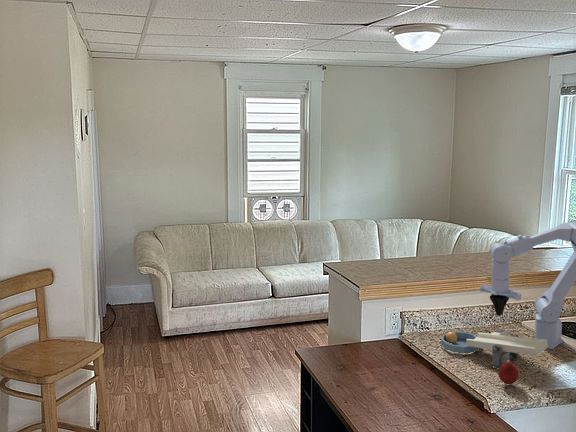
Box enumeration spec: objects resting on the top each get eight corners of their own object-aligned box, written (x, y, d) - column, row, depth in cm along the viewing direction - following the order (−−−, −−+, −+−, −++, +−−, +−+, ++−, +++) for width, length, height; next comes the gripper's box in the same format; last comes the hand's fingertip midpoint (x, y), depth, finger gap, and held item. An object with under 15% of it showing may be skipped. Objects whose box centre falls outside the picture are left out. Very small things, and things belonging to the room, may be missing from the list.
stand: (510, 352, 193) (511, 332, 192) (522, 356, 190) (522, 336, 189) (488, 367, 184) (488, 346, 183) (499, 371, 181) (500, 350, 180)
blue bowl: (454, 336, 208) (454, 328, 208) (485, 346, 199) (485, 338, 198) (434, 347, 201) (434, 339, 200) (465, 358, 191) (465, 349, 191)
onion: (520, 390, 170) (520, 365, 168) (499, 389, 171) (500, 364, 169) (516, 380, 175) (517, 356, 173) (496, 379, 176) (497, 355, 175)
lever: (493, 330, 203) (492, 322, 203) (561, 338, 185) (559, 329, 185) (467, 345, 193) (465, 337, 192) (536, 355, 174) (534, 346, 174)
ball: (459, 331, 201) (459, 342, 202) (449, 328, 204) (449, 339, 205) (453, 335, 199) (453, 346, 199) (443, 332, 202) (443, 342, 202)
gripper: (474, 276, 199) (474, 312, 202) (514, 285, 188) (513, 323, 191) (485, 271, 204) (485, 307, 207) (524, 279, 193) (523, 317, 196)
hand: (499, 314), depth 199 cm, fingers closed
